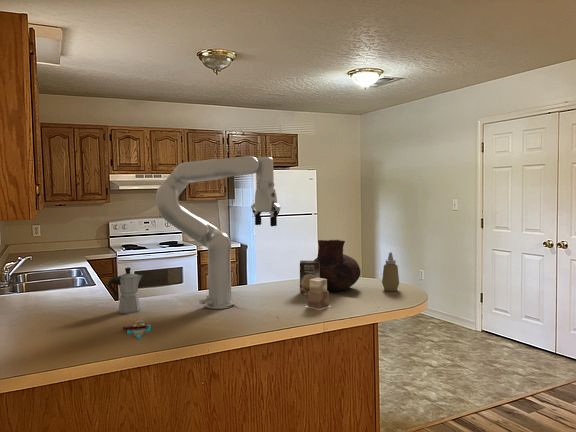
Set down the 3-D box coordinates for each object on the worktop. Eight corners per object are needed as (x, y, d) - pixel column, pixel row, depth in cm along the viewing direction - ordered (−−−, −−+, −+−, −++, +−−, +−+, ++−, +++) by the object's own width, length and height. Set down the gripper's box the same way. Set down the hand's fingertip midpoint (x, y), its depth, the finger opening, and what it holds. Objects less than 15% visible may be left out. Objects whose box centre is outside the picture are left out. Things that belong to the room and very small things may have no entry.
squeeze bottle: (401, 292, 216) (401, 253, 215) (383, 292, 216) (383, 253, 215) (397, 288, 224) (397, 251, 223) (380, 288, 224) (380, 251, 223)
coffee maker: (139, 306, 199) (137, 264, 198) (149, 309, 193) (147, 266, 191) (104, 313, 189) (102, 269, 187) (114, 317, 182) (112, 272, 181)
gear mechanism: (121, 341, 155) (150, 338, 158) (121, 326, 155) (150, 323, 157) (124, 324, 174) (150, 322, 177) (124, 310, 174) (150, 308, 177)
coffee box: (299, 298, 207) (298, 262, 206) (300, 294, 214) (299, 260, 213) (319, 298, 206) (319, 262, 205) (320, 295, 213) (319, 260, 212)
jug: (366, 285, 230) (366, 235, 229) (351, 297, 208) (350, 241, 206) (319, 281, 241) (319, 234, 239) (300, 292, 218) (299, 239, 217)
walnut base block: (319, 309, 184) (319, 294, 184) (308, 306, 188) (307, 291, 188) (329, 306, 188) (328, 291, 188) (317, 303, 192) (317, 289, 192)
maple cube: (318, 293, 184) (318, 281, 184) (309, 291, 188) (309, 279, 187) (327, 291, 188) (326, 279, 188) (317, 289, 191) (317, 277, 191)
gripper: (285, 185, 197) (286, 225, 198) (257, 185, 209) (258, 223, 210) (272, 185, 191) (273, 227, 192) (245, 186, 203) (246, 225, 204)
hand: (265, 225), depth 201 cm, fingers open, 9 cm apart
